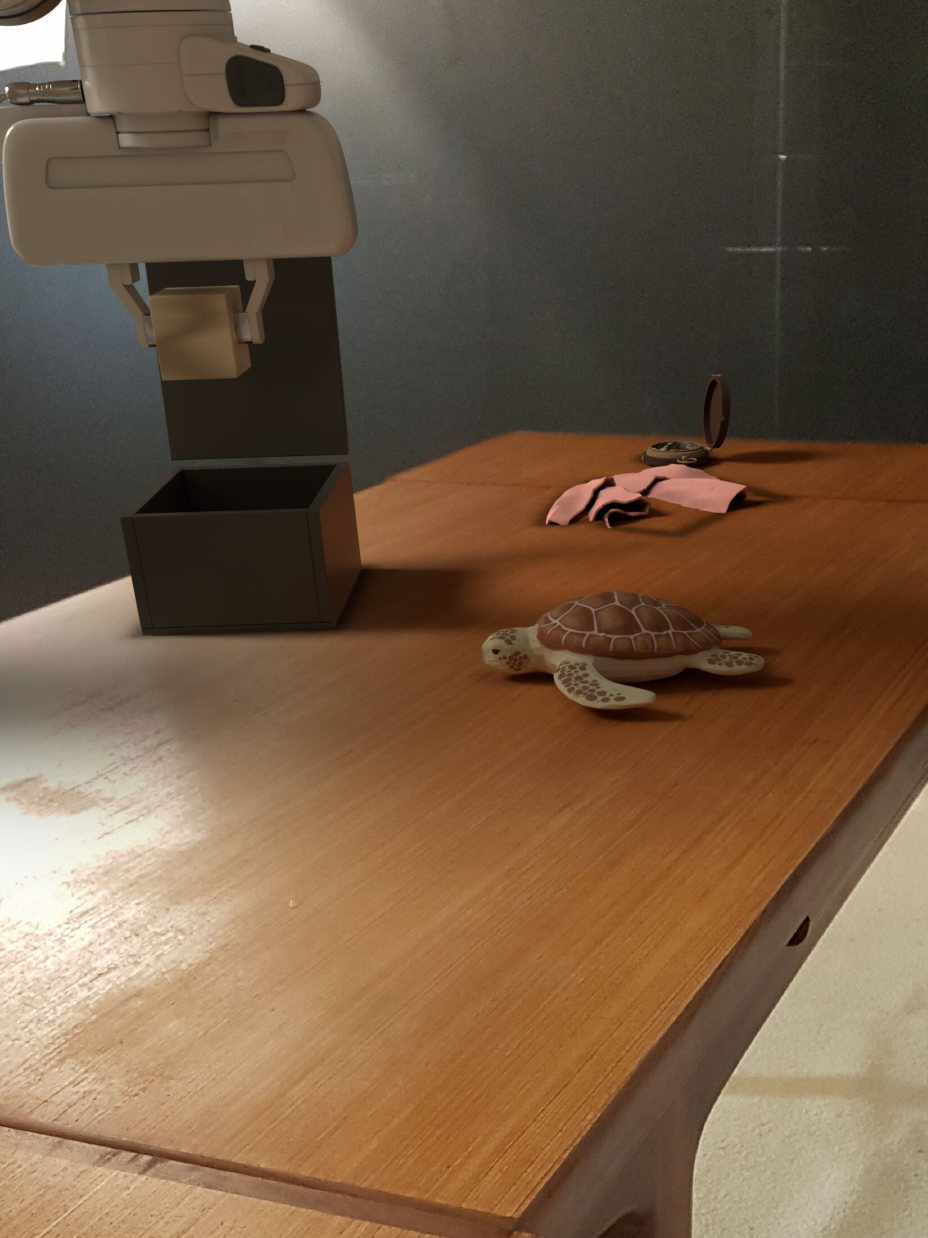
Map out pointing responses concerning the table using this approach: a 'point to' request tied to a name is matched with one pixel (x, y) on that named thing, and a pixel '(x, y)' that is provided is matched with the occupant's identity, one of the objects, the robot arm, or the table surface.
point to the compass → (713, 430)
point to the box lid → (263, 369)
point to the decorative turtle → (617, 647)
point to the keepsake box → (244, 548)
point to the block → (198, 333)
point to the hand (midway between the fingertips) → (203, 344)
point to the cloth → (647, 493)
